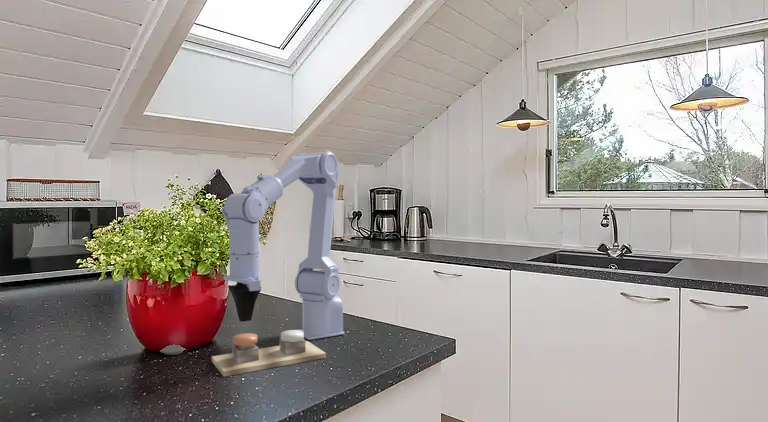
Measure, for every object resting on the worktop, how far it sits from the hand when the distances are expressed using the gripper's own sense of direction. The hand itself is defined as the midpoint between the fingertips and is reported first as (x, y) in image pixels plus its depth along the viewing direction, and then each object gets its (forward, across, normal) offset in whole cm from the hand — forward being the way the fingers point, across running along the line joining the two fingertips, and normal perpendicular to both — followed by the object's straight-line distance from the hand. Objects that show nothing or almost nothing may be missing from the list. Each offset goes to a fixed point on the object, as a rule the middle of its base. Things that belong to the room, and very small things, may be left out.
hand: (245, 320), depth 102 cm
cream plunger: (+8, 0, +10) cm, 13 cm away
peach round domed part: (+7, 0, 0) cm, 7 cm away
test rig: (+9, 0, +5) cm, 10 cm away
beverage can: (+9, -16, -11) cm, 21 cm away
